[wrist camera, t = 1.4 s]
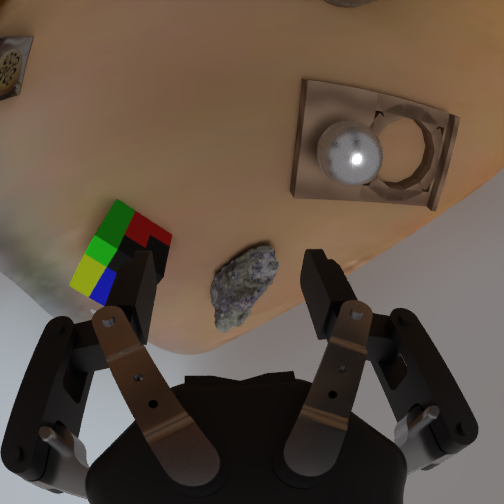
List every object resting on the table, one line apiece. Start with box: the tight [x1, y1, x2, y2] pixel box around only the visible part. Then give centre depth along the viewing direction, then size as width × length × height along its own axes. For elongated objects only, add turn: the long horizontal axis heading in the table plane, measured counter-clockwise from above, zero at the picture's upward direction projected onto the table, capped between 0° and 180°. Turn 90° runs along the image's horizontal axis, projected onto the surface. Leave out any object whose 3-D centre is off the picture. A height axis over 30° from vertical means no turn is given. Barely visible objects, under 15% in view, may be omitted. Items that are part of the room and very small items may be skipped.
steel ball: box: [317, 121, 383, 187], centre depth 33 cm, size 8×8×8 cm
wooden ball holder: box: [290, 79, 460, 211], centre depth 37 cm, size 16×24×4 cm, turn 87°
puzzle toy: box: [69, 199, 172, 306], centre depth 40 cm, size 10×10×10 cm
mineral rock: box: [211, 245, 279, 333], centre depth 46 cm, size 13×11×10 cm
